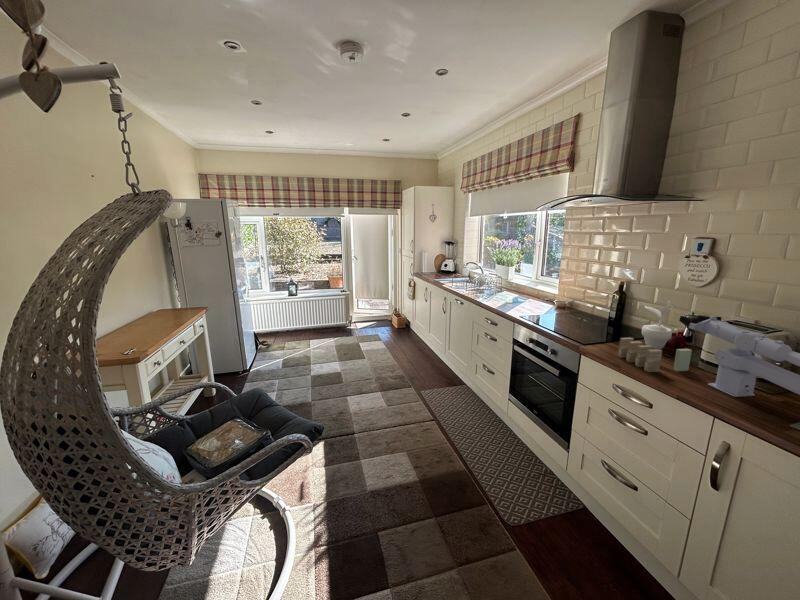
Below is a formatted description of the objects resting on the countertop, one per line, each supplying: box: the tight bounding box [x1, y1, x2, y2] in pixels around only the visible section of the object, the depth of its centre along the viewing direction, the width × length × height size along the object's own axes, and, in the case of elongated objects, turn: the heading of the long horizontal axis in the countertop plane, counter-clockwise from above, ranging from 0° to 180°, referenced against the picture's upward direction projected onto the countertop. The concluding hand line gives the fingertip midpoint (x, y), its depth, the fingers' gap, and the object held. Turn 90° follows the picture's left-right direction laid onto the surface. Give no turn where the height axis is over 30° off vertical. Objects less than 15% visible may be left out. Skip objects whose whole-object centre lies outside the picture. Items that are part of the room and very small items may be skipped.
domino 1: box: [617, 337, 634, 359], centre depth 151 cm, size 2×5×9 cm, turn 95°
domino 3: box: [634, 344, 652, 368], centre depth 141 cm, size 2×5×9 cm, turn 95°
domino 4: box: [643, 349, 663, 373], centre depth 136 cm, size 2×5×9 cm, turn 95°
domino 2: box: [625, 340, 644, 363], centre depth 146 cm, size 2×5×9 cm, turn 95°
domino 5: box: [672, 348, 693, 372], centre depth 136 cm, size 2×5×9 cm, turn 95°
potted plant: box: [641, 298, 674, 350], centre depth 161 cm, size 13×12×25 cm
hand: (689, 318), depth 135 cm, fingers open, 7 cm apart
